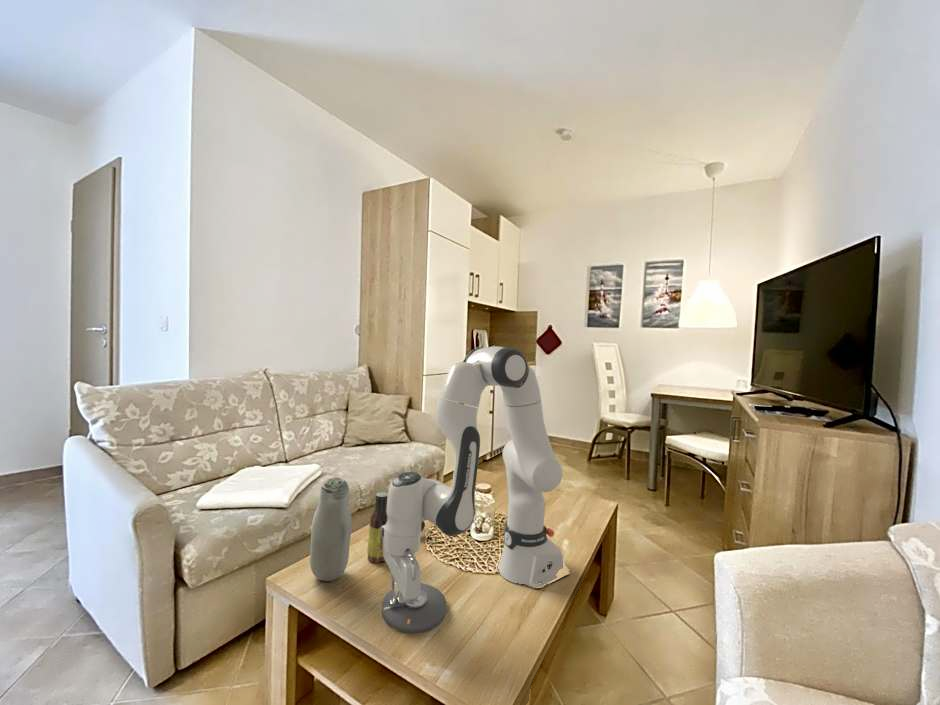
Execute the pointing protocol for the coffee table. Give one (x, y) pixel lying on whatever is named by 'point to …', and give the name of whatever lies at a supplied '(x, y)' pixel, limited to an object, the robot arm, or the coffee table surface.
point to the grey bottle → (331, 531)
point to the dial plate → (416, 612)
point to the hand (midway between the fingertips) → (398, 594)
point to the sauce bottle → (377, 528)
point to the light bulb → (409, 604)
